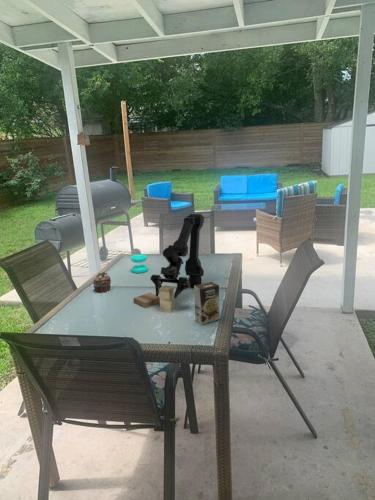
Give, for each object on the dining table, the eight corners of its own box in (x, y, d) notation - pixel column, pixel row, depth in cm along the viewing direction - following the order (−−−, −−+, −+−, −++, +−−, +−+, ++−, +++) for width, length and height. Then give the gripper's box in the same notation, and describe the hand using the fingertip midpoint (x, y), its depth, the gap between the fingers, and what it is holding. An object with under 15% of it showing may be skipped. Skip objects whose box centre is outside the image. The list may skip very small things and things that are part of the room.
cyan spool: (127, 257, 241) (137, 253, 249) (128, 272, 244) (138, 268, 252) (139, 258, 236) (149, 254, 244) (141, 274, 238) (151, 270, 247)
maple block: (165, 307, 187) (163, 285, 184) (174, 308, 185) (173, 286, 182) (160, 311, 183) (158, 288, 180) (170, 312, 181) (168, 289, 178)
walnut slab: (150, 298, 201) (149, 292, 200) (162, 303, 193) (161, 297, 192) (133, 303, 194) (133, 297, 194) (145, 308, 187) (145, 303, 186)
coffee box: (202, 325, 166) (200, 289, 162) (195, 319, 171) (193, 285, 167) (220, 320, 170) (219, 285, 166) (212, 315, 175) (211, 281, 171)
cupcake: (105, 286, 221) (103, 269, 218) (115, 289, 214) (113, 272, 212) (90, 290, 214) (88, 273, 212) (99, 294, 208) (97, 276, 205)
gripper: (150, 258, 185) (140, 288, 178) (186, 260, 178) (177, 292, 171) (159, 269, 194) (150, 298, 187) (194, 272, 187) (185, 302, 180)
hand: (165, 297), depth 181 cm, fingers open, 9 cm apart
